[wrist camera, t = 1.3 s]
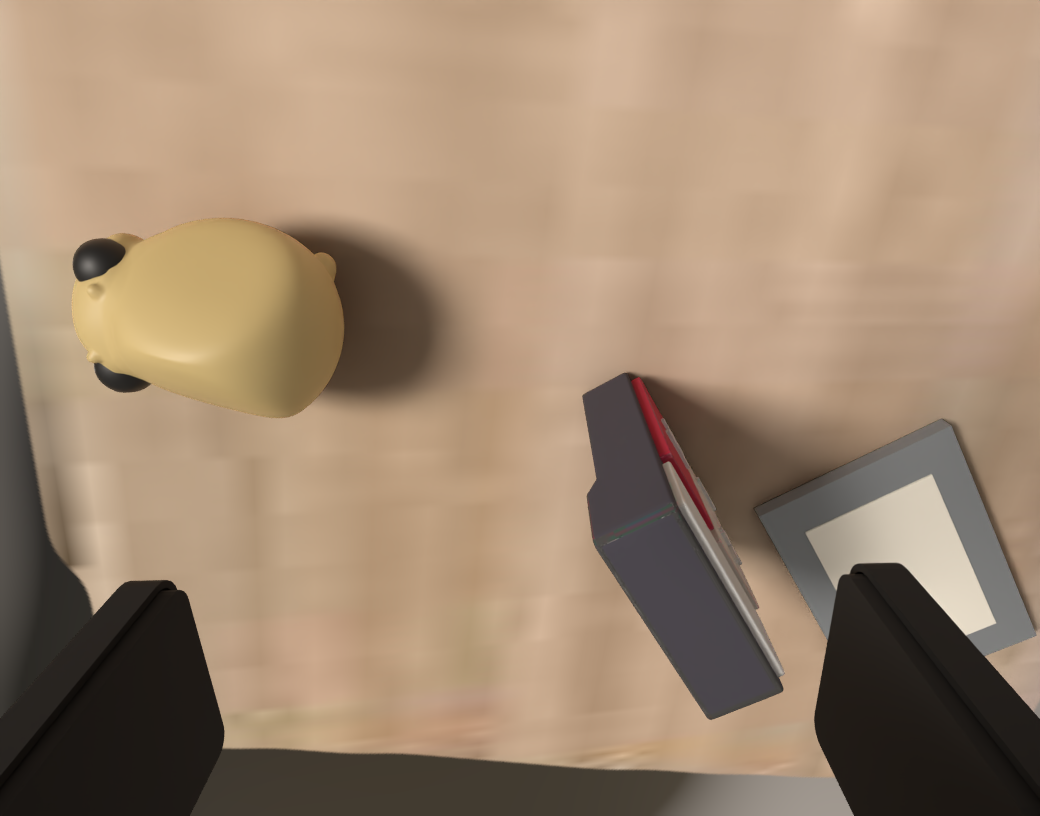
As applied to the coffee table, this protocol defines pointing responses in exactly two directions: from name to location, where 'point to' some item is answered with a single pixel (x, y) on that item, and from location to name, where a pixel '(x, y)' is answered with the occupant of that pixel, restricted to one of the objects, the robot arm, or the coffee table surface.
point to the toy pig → (211, 315)
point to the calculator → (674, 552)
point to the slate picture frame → (903, 534)
